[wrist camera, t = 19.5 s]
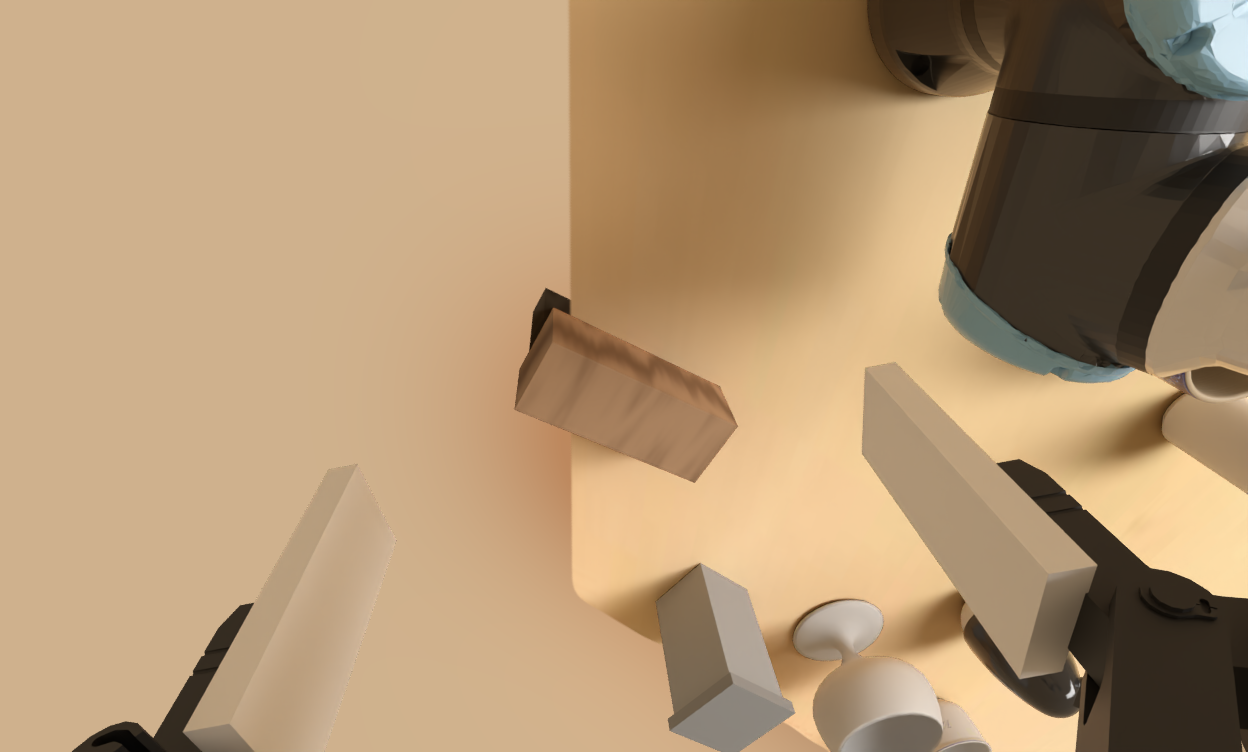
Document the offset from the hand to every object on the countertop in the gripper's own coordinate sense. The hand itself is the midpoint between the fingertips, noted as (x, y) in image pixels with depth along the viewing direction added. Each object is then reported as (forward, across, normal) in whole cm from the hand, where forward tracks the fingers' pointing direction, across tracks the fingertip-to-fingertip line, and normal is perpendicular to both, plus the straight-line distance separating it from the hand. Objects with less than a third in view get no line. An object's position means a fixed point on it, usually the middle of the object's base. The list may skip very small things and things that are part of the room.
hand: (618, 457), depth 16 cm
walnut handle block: (+38, +7, -25) cm, 46 cm away
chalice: (+37, +21, -63) cm, 76 cm away
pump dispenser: (+37, +41, -63) cm, 84 cm away
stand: (+37, +4, -51) cm, 63 cm away
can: (+37, +60, -37) cm, 80 cm away
